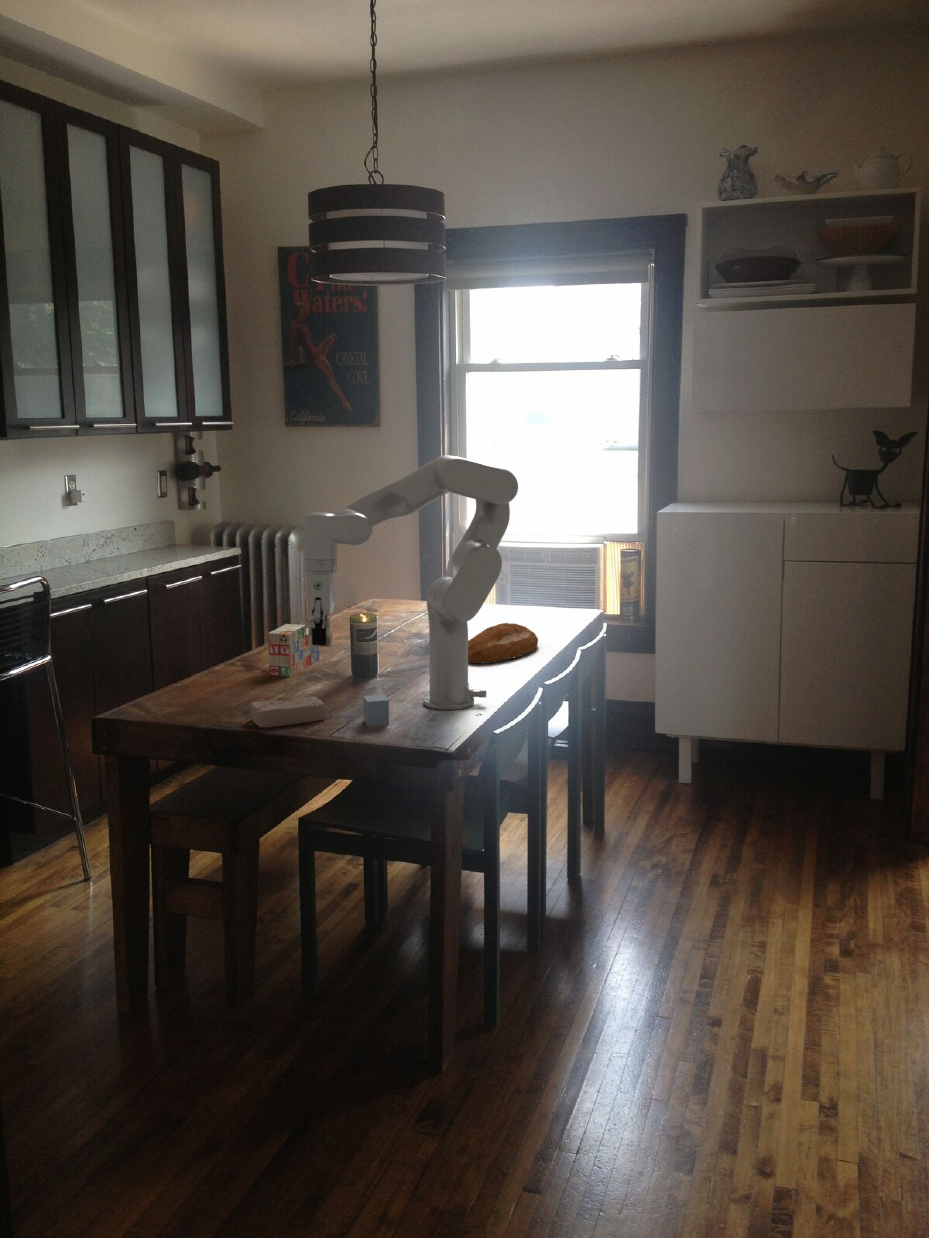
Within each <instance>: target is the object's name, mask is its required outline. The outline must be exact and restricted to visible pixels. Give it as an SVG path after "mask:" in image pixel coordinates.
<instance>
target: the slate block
mask: <svg viewBox="0 0 929 1238" xmlns="http://www.w3.org/2000/svg"><path fill="white" fill-rule="evenodd" d="M362 700H363V704H362V705H363V722H364V723H365V725H366V726H367V728H370V727H381V726H389V725H390V703H389V702H390V701H389V698H387V696H386V695H385V694H377V695H363V698H362Z"/></svg>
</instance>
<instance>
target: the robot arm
mask: <svg viewBox="0 0 929 1238" xmlns="http://www.w3.org/2000/svg"><path fill="white" fill-rule="evenodd" d="M518 491H519V483H518V480H517V477H516V476H515V475H514V474H513V472H511V471H510V470H508V469H506V468H501V467H497V466H494V465H489V464H485V463H481V462H478V461H474V460H471V459H467V458H464V457H461V456H455V455H449V454H448V455H440V456H438V457H436V458H434V459H432V460H431V461H429V462H427V463H425V464H423V465H422V466H420V467H419V468H417V469H415V470H413V471H412V472H410V473H408V474H406V475H405V476H403V477H401V478H400V479H398V480H396V481H394V482H392V483H390V484H387V485H385V486H383V487H382V488H380V489H378V490H375V491H373V492H370V493H368V494H367V495H364V496H362V497H360V498H359V499H357V500H355V501H353V502H352V503H351V504H349V505H347V506H345V507H343V508H341V510H339V511H337V513H336V514H334V513H331V512H327V511H326V512H324V511H322V512H321V511H320V512H318V511H316V512H313V511H312V512H310V513H307V514H306V515H305V517H304V523H303V525H304V526H303V527H304V528H303V529H304V530H303V531H304V533H303V534H304V538H303V539H304V540H303V541H304V543H303V544H304V545H303V546H304V547H303V549H304V551H303V553H304V554H303V555H304V556H303V557H304V559H303V560H304V566H303V569H304V570H303V571H304V573H305V574H309V575H308V605H309V614H310V615H311V616H312V617H313V628H312V644H313V645H326V628H325V618H329V616H331V615H332V614H333V612H334V610H335V597H334V594H335V591H334V590H335V589H334V574H336V573H338V544H341V545H349V546H360V545H363V544H365V543H366V542H368V541H369V540H370V538H371V537H372V534H373V527H375V526H376V525H378V524H380V523H383V522H385V521H388V520H390V519H394V518H395V519H396V518H401V517H406V516H409V515H412V514H414V513H416V512H418V511H420V510H421V509H423V508H425V507H427V506H428V505H429V504H431V503H433V502H435V501H437V500H439V499H440V498H441V497H444V496H445V495H447V494H448V493H451V494H456V495H458V496H461V497H465V498H469V499H473V500H475V512H474V515H473V518H472V520H471V522H470V524H469V526H468V528H467V529H466V531H465V533H464V534H463V536H462V538H461V539H460V541H459V543H458V545H457V546H456V548H455V549H454V551H453V554H452V557H451V564H452V567H453V569H454V570H455V572H456V574H455V576H454V577H451V576H442V577H439V578H437V579H435V580H433V581H432V583H431V585H429V587H428V589H427V593H426V609H427V615H428V616H427V617H428V631H429V632H428V635H429V641H428V646H429V647H428V648H429V649H428V654H429V655H428V656H429V661H428V662H429V663H428V664H429V666H428V667H429V672H428V673H429V694H428V695H427V696H425V697H424V698H423V699H422V700H423V702H422V703H423V705H424V706H425V707H428V708H429V709H432V710H433V709H434V710H442V711H444V710H445V711H455V710H463V708H464V709H467V708H470V707H472V706H474V704H475V698H487V689H482V688H481V687H478V688H477V687H476V688H473V687H470V683H469V662H468V641H469V626H468V622H469V621H471V620H472V619H473V618H475V617H476V615H477V614H478V613H479V612H480V610H481V608H482V607H483V605H484V604H485V602H486V600H487V598H488V596H489V595H490V593H491V591H492V590H493V588H494V586H495V585H496V583H497V581H498V579H499V577H500V575H501V571H502V566H503V560H502V556H501V555H502V554H501V553H500V552H499V550H498V547H499V545H500V543H501V541H502V540H503V537H504V536H505V534H506V531H507V528H508V526H509V523H510V516H511V515H510V514H511V513H510V512H511V510H510V502H512V501H513V500H514V499H515V498H516V496H517V495H518Z"/></svg>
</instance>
